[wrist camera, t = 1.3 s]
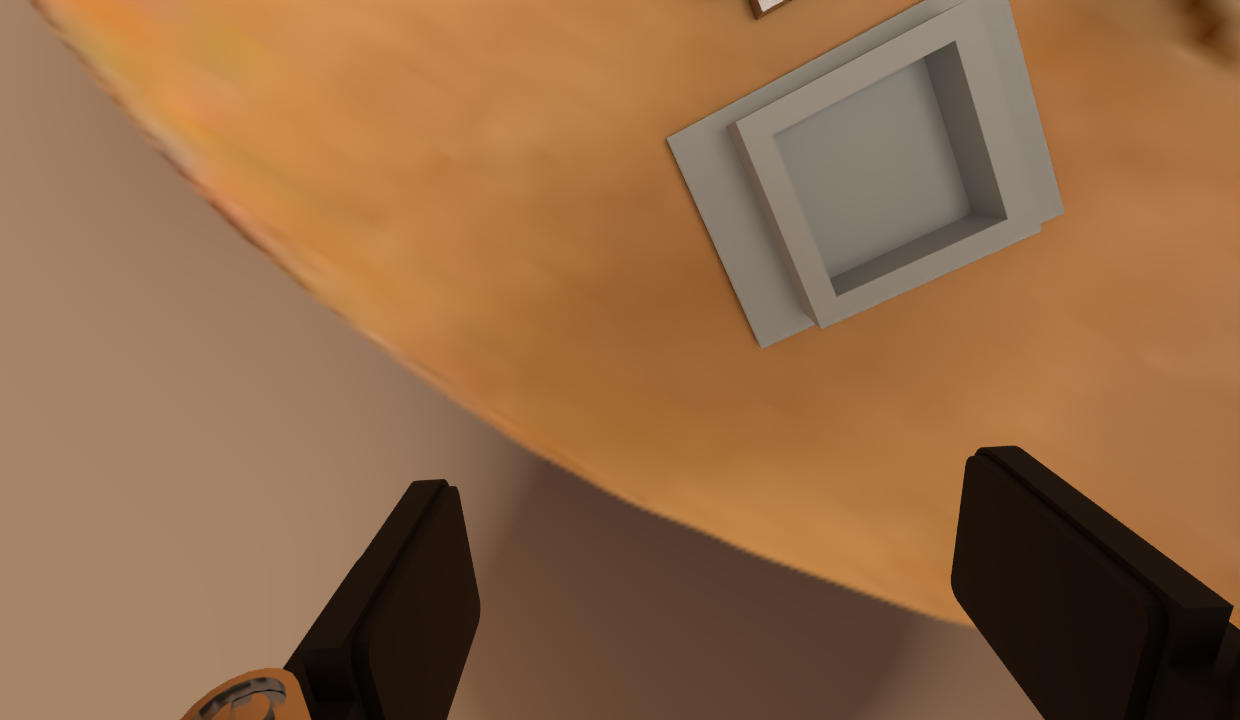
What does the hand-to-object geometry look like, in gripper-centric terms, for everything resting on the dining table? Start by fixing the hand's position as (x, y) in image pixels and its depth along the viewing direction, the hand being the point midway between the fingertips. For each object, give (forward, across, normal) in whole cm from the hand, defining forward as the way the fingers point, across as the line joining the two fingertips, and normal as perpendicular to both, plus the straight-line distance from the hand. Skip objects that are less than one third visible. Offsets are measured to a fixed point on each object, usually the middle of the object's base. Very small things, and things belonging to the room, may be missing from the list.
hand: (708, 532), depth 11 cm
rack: (+22, -10, -5) cm, 25 cm away
